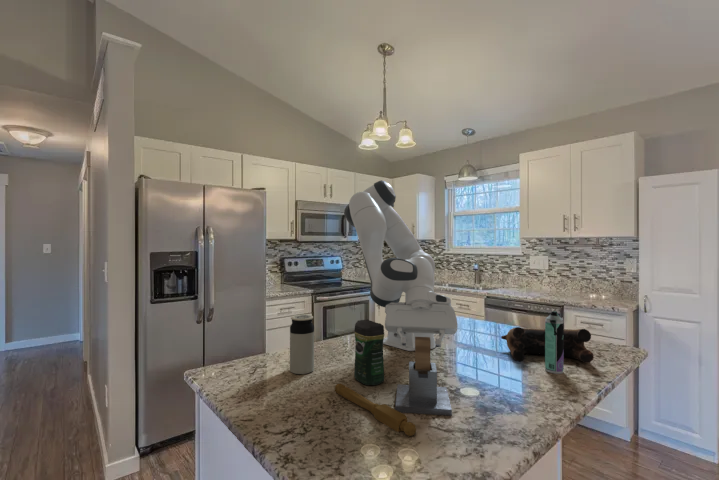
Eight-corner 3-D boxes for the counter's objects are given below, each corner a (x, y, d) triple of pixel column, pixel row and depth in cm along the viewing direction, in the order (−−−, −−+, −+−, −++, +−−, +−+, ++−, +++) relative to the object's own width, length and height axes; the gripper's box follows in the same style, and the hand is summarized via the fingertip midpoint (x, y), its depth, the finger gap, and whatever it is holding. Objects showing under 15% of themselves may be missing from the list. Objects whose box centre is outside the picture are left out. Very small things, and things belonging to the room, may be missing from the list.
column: (414, 391, 101) (414, 336, 101) (429, 392, 101) (429, 337, 101) (414, 397, 97) (415, 340, 97) (430, 398, 97) (430, 341, 96)
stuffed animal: (599, 324, 127) (573, 318, 152) (505, 327, 133) (495, 321, 158) (604, 363, 126) (577, 350, 150) (509, 364, 132) (498, 352, 156)
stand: (397, 389, 107) (397, 357, 107) (446, 392, 105) (446, 359, 105) (395, 411, 93) (395, 374, 93) (451, 415, 91) (451, 377, 91)
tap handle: (342, 381, 106) (418, 422, 82) (342, 392, 106) (418, 435, 82) (333, 384, 104) (409, 426, 80) (333, 394, 104) (409, 440, 80)
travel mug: (318, 368, 124) (318, 315, 124) (305, 376, 117) (305, 320, 117) (298, 365, 127) (298, 313, 127) (284, 372, 120) (285, 317, 120)
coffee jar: (388, 383, 112) (388, 322, 112) (366, 388, 107) (367, 325, 107) (371, 373, 120) (371, 316, 120) (350, 377, 116) (350, 319, 116)
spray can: (565, 374, 119) (566, 313, 119) (547, 373, 120) (548, 312, 120) (560, 368, 124) (560, 310, 124) (542, 367, 126) (543, 309, 126)
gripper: (385, 295, 108) (381, 337, 98) (455, 298, 105) (459, 341, 95) (386, 308, 113) (383, 349, 103) (454, 310, 109) (457, 353, 100)
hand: (420, 345), depth 99 cm, fingers open, 8 cm apart
